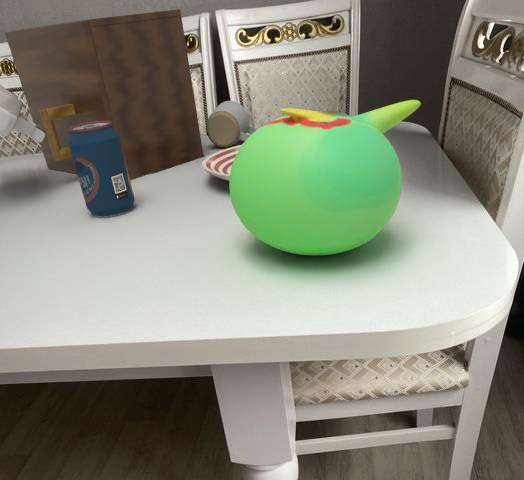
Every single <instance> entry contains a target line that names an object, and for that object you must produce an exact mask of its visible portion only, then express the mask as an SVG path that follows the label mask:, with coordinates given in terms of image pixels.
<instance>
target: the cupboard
mask: <svg viewBox="0 0 524 480" xmlns="http://www.w3.org/2000/svg"><path fill="white" fill-rule="evenodd" d="M182 18H183V17H182V12H181V9H180V8H178V9H177V8H176V9H169V10H161V11H151V12H142V13H141V12H140V13H134V14H125V15H124V14H123V15H116V16H107V17H105V16H104V17H97V18H89V19H88V18H87V19H81V20H74V21H68V22H62V23H54V24H47V25H41V26H40V25H39V26H34V27H33V26H32V27H26V28H19V29H13V30H11V31H18V30H25V29H32V28H39V27H46V26H53V25H60V24H67V23H74V22H81V21H88V22H89V26H90V30H91V34H92V38H93V42H94V47H95V51H96V55H97V59H98V63H99V67H100V71H101V76H102V80H103V84H104V88H105V92H106V96H107V100H108V104H109V109H110V113H111V117H112V121H113V125H114V128H115V130H116V131H117V132H118V134H119V136H120V140H121V144H122V149H123V153H124V157H125V161H126V165H127V169H128V173H129V178H130V181H132V180H136V179H139V178H141V177H144V176H145V177H146V176H147V175H153V174H154V173H155V174H156V173H158V172H161V171H164V170H168V169H171V168H173V167H176V166H180V165H182V164H185V163H188V162H191V161H194V160H197V159H199V158H203V157H204V155H205V154H204V151H203V143H202V137H201V131H200V130H201V129H200V125H199V119H198V112H197V106H196V100H195V93H194V87H193V80H192V76H191V69H190V61H189V56H188V50H187V49H188V48H187V43H186V37H185V30H184V23H183V19H182Z"/></svg>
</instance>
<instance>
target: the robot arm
mask: <svg viewBox="0 0 524 480" xmlns="http://www.w3.org/2000/svg"><path fill="white" fill-rule="evenodd" d="M23 107H24V104H23V102H22V101H21V100H20V99H19V98H18V96H16V95H14V94H13V93H12V92H11V91H10V90H8V89H7V88H6V87H4V86H3V85H1V84H0V136H2V137H3V138H8V137H9V136H10V133H11V132H12V130H15V131H17V132H18V133H20V134H22V135H25V136H27V137H29V138H31V139H33V140H35V142H37V143H40V142H42V141H43V139H44V137H45V131H44V130H43V129H42V128H40V127H39V126H37V125H36V124H35V123H34V122H33V120H32V119H31V118H29V117H28V116H27V115H25V114H24V113H22V112H21V111H22V109H23Z"/></svg>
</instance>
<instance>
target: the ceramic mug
mask: <svg viewBox="0 0 524 480" xmlns="http://www.w3.org/2000/svg"><path fill="white" fill-rule="evenodd" d="M250 123H251V121H250V115H249V113H248V112H247V109H246V108H245V107H244V106H243V105H242V104H241V103H239V102H237V101H235V100H226V101H222V102H221V103H219V104H218V105H217V107H216V108H214V110H212V112H211V113H210V114H209V116H208V118H207V121H206V125H205V131H206V135H207V137H208V139H209V140H210V142H212V144H213V145H215V146H217V147H219V148H224V149H226V148H231V147H234V146H235V145H236V144H237V143H238V142H240V141H242V142H243V143H244V142H245V141H246V140H247V138H248V137H249V136H250V135H251V134H253V133H254V132H255V131H256V130H257V129H258V128H256V127H255V126H253V125H251V124H250Z"/></svg>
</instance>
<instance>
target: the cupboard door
mask: <svg viewBox="0 0 524 480" xmlns="http://www.w3.org/2000/svg"><path fill="white" fill-rule="evenodd" d="M80 21H81V20H80ZM73 22H74V21H73ZM66 23H67V22H66ZM59 24H60V23H59ZM52 25H53V24H52ZM45 26H46V27H40V26H38V27H39V28H33V27H31V28H32V29H26V28H24V29H25V30H19V29H17V30H18V31H12V30H11V31H5V32H4V36H5V38H6V41H7V44H8V47H9V50H10V54H11V56H12V60H13V62H14V67H15V69H16V72H17V75H18V79H19V81H20V85H21V88H22V91H23V94H24V98H25V101H26V104H27V107H28V110H29V113H30V116H31V121H33V122H34V123H35V124H36V125H37V126H39V127H40V128H42V129H43V130H44V131H45V137H44V139H43V141H42V142H39V145H40V148H41V151H42V154H43V157H44V160H45V163H46V167H47V169H49V170H55V171H60V172H65V173H70V174H75V175H77V172H76V169H75V165H74V162H73V158H72V155H71V151H70V148H69V144H68V139H69V134H70V131H69V127H71V126H74V125H77V124H81V123H86V122H92V121H103V120H107V121H111V122H112V126H113V127H114V125H113V121H112V117H111V113H110V109H109V104H108V100H107V96H106V92H105V88H104V84H103V80H102V76H101V71H100V67H99V63H98V59H97V55H96V51H95V47H94V42H93V38H92V34H91V30H90V26H89V22H88V21H81V22H74V23H67V24H60V25H53V26H47V25H45Z"/></svg>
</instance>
